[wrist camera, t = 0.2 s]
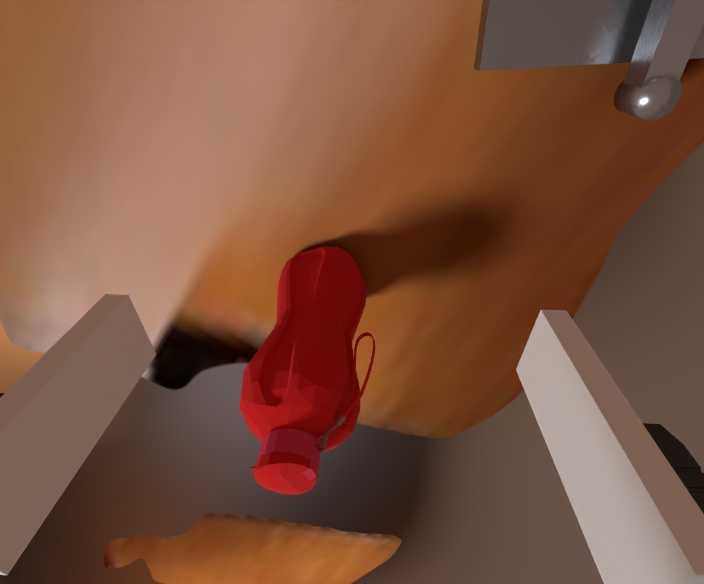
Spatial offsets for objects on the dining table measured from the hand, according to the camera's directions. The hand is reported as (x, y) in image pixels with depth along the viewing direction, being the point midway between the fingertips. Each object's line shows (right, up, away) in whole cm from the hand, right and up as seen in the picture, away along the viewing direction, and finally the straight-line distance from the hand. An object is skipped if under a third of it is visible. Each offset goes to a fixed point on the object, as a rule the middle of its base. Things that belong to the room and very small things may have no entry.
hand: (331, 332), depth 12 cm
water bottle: (-2, +4, +32) cm, 32 cm away
